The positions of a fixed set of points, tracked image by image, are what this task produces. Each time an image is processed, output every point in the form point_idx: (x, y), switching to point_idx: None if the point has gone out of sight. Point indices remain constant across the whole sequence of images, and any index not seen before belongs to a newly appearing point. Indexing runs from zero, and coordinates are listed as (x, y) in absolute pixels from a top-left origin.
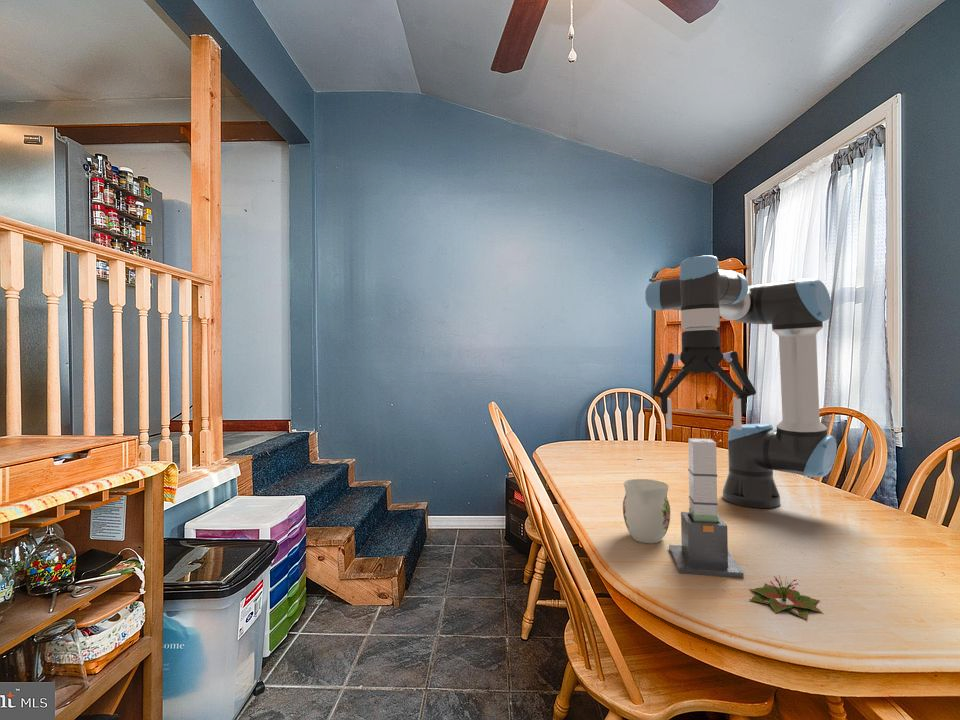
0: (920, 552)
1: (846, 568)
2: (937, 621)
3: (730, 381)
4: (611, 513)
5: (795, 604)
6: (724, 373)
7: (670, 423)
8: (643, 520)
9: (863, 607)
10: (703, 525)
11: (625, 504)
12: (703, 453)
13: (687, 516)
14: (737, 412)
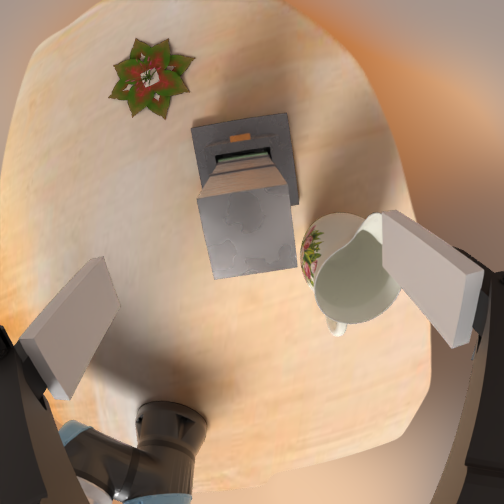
0: (11, 299)
1: (66, 221)
2: (20, 111)
3: (5, 431)
4: (377, 326)
5: (138, 73)
6: (10, 500)
7: (400, 219)
8: (351, 215)
9: (69, 106)
10: (248, 135)
11: None
12: (246, 181)
13: None
14: (69, 294)
